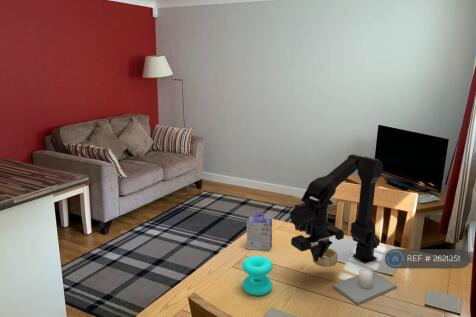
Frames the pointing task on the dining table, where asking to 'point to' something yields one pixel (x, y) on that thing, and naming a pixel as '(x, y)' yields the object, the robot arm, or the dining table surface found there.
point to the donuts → (257, 275)
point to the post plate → (364, 293)
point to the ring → (327, 258)
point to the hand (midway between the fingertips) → (317, 260)
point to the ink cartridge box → (259, 233)
